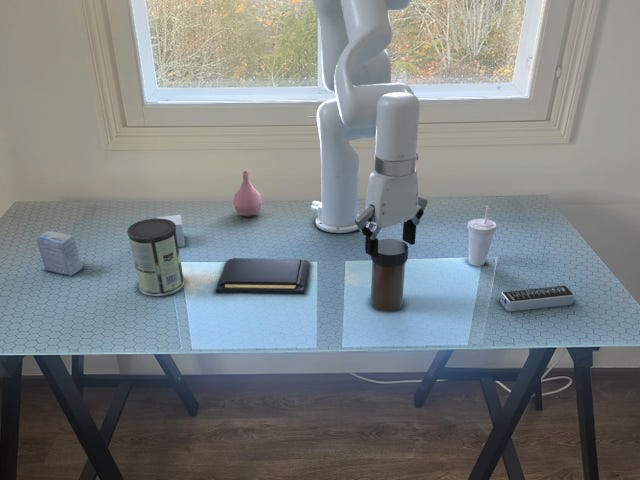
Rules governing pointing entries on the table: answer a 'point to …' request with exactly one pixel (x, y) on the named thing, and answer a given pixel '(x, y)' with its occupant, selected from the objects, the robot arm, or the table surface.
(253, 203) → the pink teardrop shaped piece
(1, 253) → the table surface
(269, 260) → the wallet
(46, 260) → the medicine box
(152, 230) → the coffee can
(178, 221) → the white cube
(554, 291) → the multiport hub
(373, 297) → the jar
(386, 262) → the lid
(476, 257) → the smoothie
